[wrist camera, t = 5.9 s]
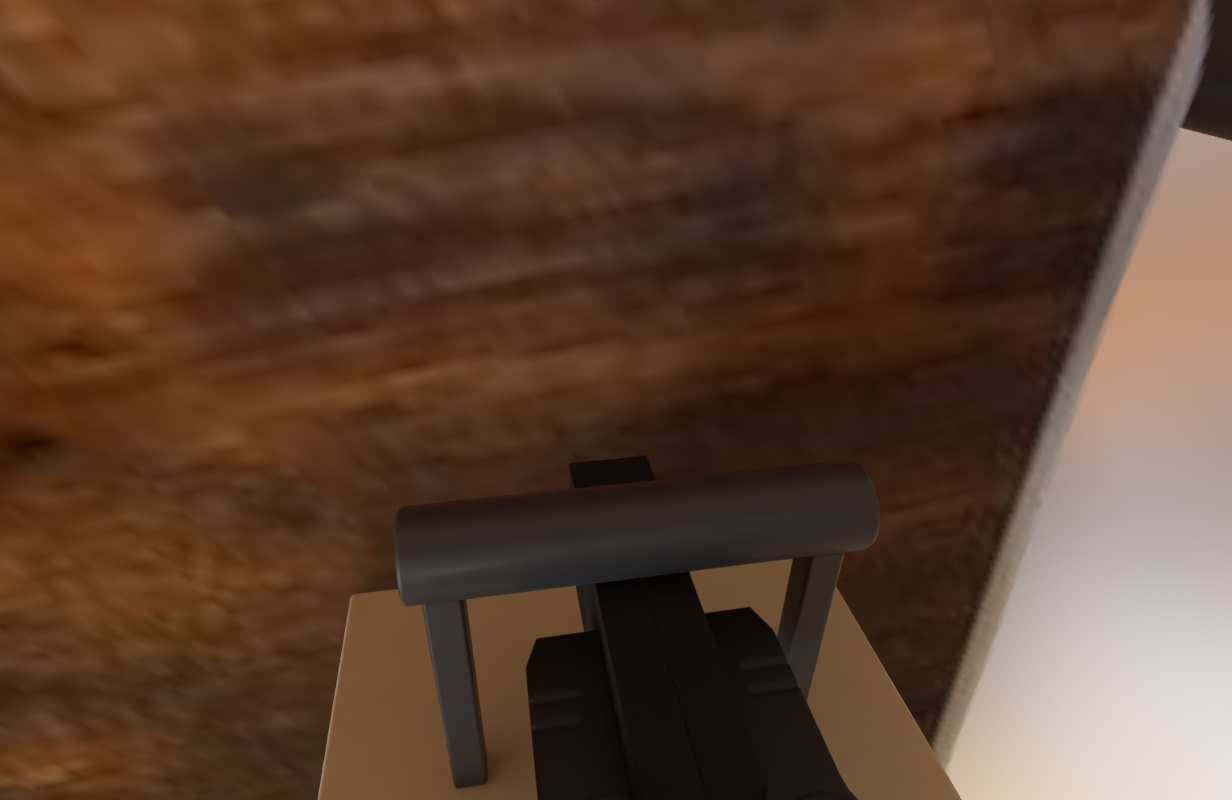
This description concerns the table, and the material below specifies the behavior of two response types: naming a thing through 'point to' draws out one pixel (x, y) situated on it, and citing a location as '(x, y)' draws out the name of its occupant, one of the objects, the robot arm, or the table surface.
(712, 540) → the drawer
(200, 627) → the table surface
